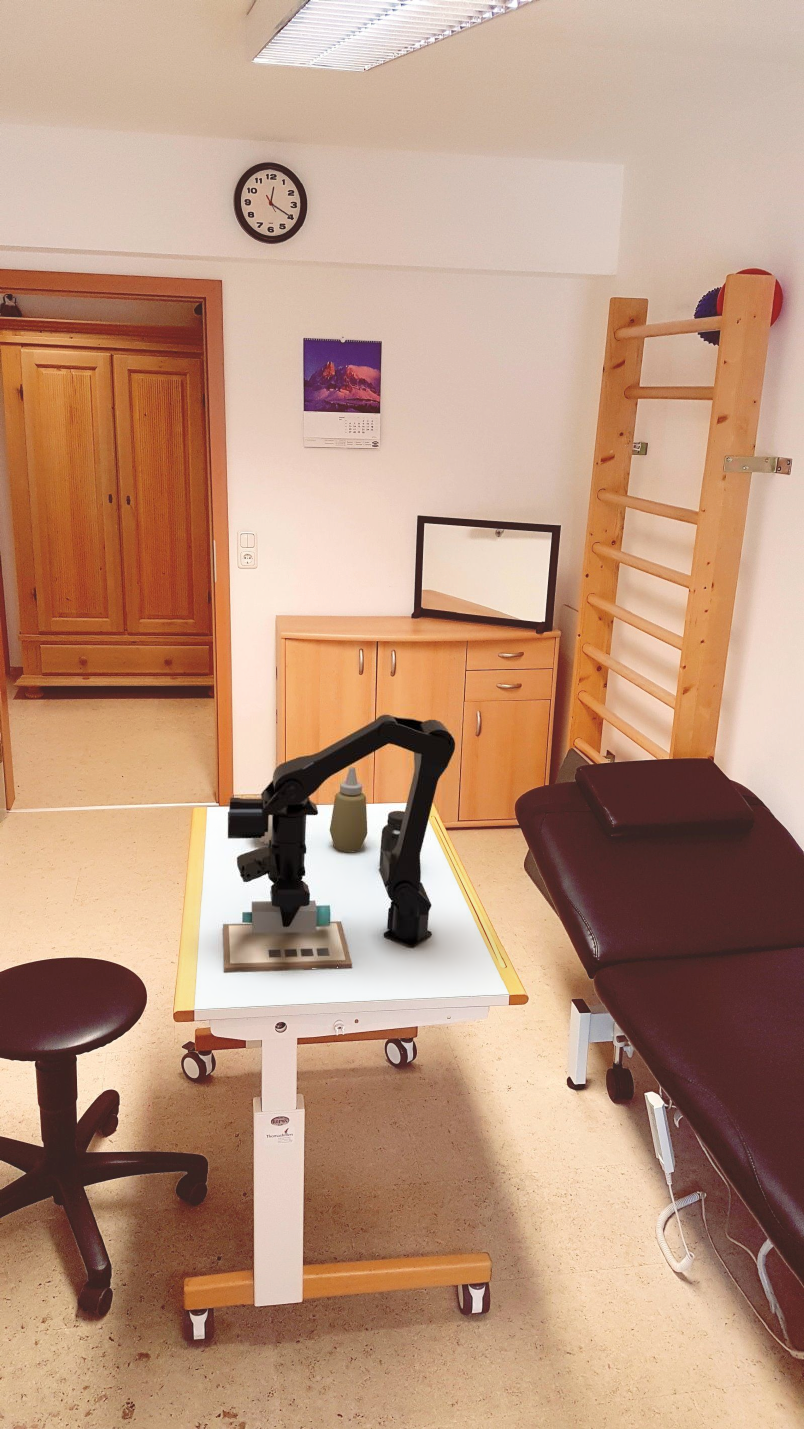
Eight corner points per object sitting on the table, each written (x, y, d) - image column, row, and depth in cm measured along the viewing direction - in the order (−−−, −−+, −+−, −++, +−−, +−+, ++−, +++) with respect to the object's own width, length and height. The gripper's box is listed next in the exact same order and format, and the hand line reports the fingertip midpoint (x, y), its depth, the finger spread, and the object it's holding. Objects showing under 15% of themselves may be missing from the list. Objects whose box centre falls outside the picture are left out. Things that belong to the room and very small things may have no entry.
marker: (327, 920, 180) (328, 900, 179) (329, 931, 176) (331, 910, 175) (241, 922, 177) (242, 901, 176) (242, 933, 173) (242, 912, 172)
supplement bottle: (373, 870, 207) (376, 815, 204) (388, 859, 213) (392, 806, 210) (402, 879, 204) (406, 823, 201) (418, 867, 210) (422, 813, 207)
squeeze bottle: (324, 841, 220) (328, 762, 215) (359, 838, 223) (364, 760, 218) (335, 856, 213) (339, 775, 208) (371, 853, 215) (376, 773, 211)
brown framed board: (340, 925, 184) (341, 919, 183) (351, 967, 169) (352, 962, 169) (222, 928, 180) (223, 922, 179) (224, 972, 165) (224, 966, 165)
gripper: (238, 816, 179) (236, 897, 184) (242, 860, 162) (239, 948, 166) (301, 816, 182) (298, 896, 186) (311, 859, 164) (307, 946, 168)
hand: (285, 920), depth 176 cm, fingers closed on marker, 4 cm apart
